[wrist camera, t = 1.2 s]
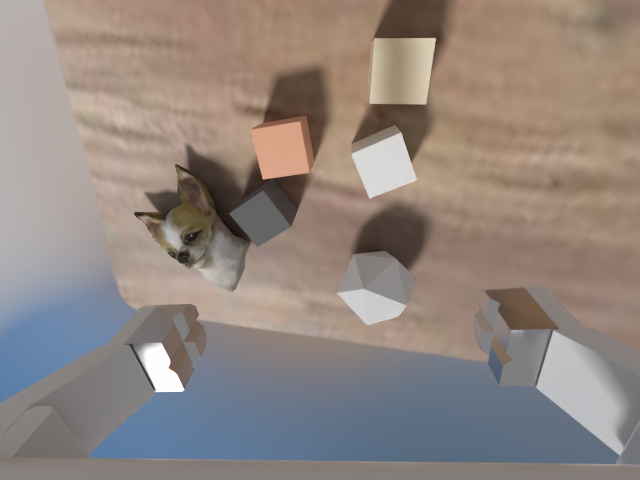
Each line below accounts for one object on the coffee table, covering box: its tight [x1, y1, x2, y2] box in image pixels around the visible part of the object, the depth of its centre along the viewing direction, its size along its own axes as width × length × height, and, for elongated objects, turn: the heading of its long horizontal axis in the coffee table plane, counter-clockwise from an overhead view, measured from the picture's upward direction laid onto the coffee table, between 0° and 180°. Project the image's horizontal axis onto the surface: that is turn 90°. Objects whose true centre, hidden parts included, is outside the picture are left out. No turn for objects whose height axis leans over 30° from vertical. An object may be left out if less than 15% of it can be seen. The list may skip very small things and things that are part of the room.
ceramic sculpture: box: [134, 164, 249, 292], centre depth 38 cm, size 11×9×15 cm
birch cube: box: [367, 38, 436, 104], centre depth 29 cm, size 5×5×5 cm
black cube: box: [229, 178, 298, 247], centre depth 37 cm, size 5×5×5 cm
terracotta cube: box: [250, 115, 315, 179], centre depth 33 cm, size 5×5×5 cm
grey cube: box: [351, 125, 417, 198], centre depth 33 cm, size 5×5×5 cm
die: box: [337, 251, 416, 325], centre depth 39 cm, size 8×9×10 cm
